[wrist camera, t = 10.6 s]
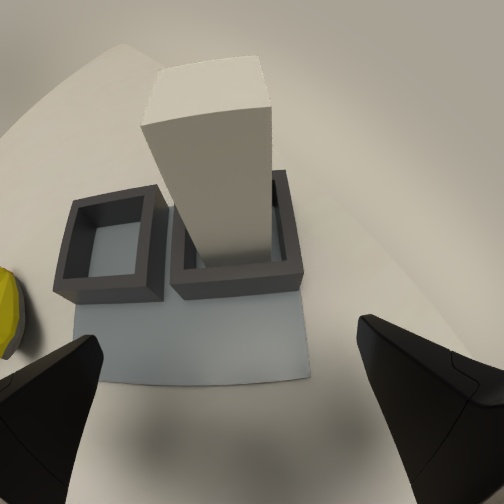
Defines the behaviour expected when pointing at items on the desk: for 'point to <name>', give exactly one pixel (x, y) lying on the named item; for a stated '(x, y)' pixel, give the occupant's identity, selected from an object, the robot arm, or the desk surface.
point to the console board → (181, 295)
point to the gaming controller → (10, 313)
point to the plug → (216, 155)
